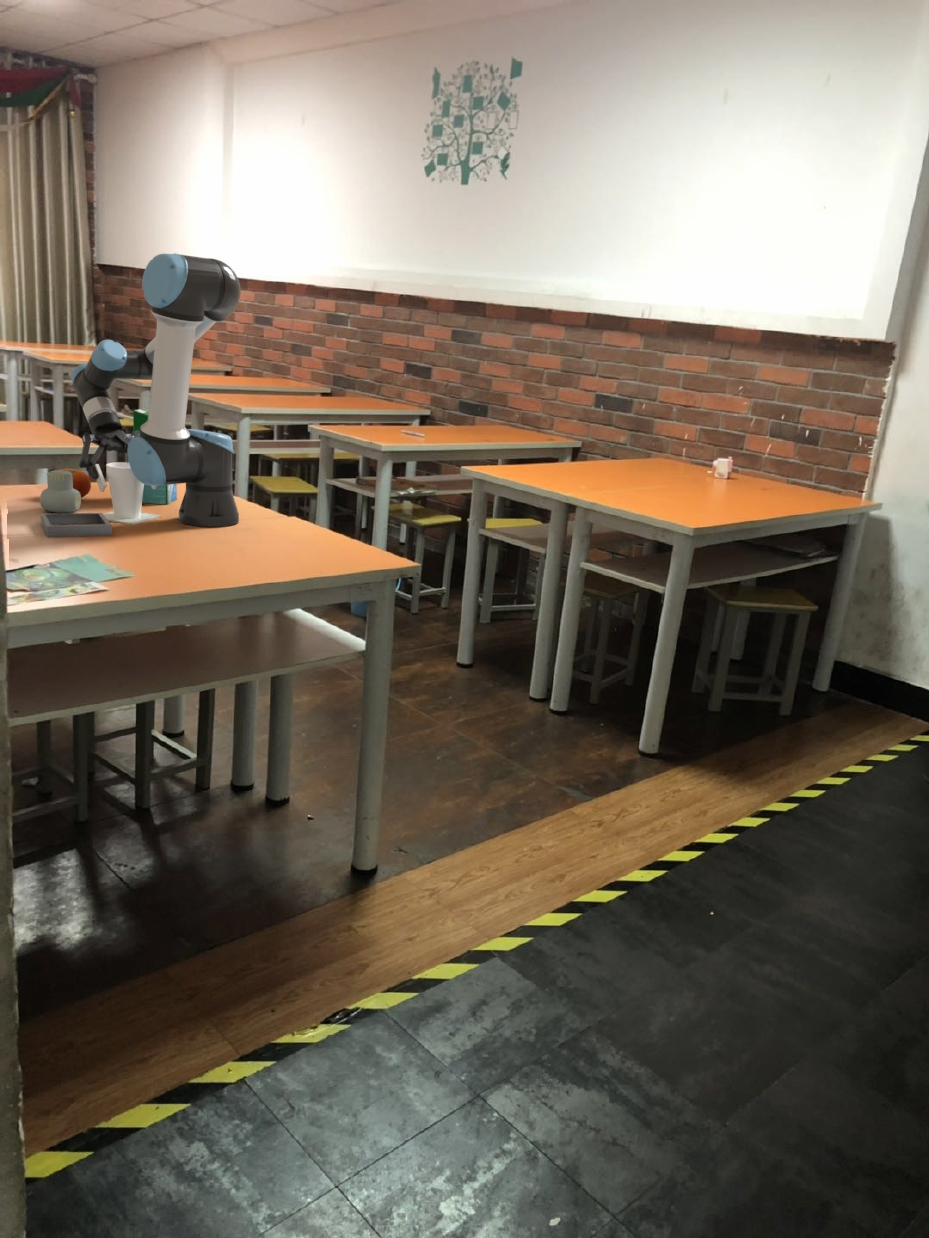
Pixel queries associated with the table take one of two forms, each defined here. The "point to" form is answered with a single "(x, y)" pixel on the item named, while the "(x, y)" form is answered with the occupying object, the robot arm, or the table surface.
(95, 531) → the grey square frame
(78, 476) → the fruit
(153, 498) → the milk carton
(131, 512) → the foam cup
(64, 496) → the air freshener
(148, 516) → the pad
